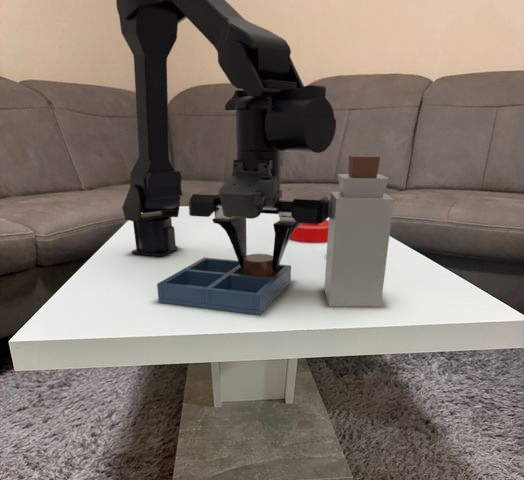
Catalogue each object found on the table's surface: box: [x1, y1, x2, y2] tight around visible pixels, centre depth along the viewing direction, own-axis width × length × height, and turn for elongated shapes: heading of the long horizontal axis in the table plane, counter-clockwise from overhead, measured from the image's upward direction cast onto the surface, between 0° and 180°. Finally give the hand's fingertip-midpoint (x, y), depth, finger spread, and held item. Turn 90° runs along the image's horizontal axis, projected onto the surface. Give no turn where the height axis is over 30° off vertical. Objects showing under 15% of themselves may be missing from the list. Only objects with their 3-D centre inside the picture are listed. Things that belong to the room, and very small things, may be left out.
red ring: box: [289, 219, 329, 243], centre depth 97 cm, size 10×10×3 cm
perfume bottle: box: [324, 155, 395, 308], centre depth 59 cm, size 7×7×18 cm
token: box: [243, 253, 275, 277], centre depth 66 cm, size 5×5×2 cm
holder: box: [156, 257, 292, 316], centre depth 65 cm, size 14×14×3 cm
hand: (259, 268), depth 66 cm, fingers closed on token, 5 cm apart
